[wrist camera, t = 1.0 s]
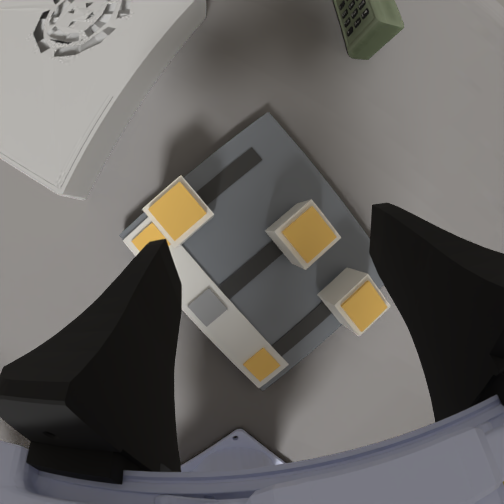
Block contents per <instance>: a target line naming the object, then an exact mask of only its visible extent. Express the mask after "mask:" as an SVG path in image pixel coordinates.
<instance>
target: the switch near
mask: <svg viewBox="0 0 504 504" xmlns="http://www.w3.org/2000/svg"><path fill="white" fill-rule="evenodd" d="M142 210H143V211H144V212H145V213H146V215H147V216H148V217H149V218H150V220H151V221H152V222H153V223H154V224H155V226H156V227H157V228H158V229H159V230H160V232H161V233H162V234H163V235H164V236H165V238H166V239H167V240H168V241H169V242H170V243H171V245H172V246H173V247H174V248H176V247H178V246H180V245H181V244H183V243H184V242H185V241H186V240H187V239H188V238H189V237H191V236H192V235H193V234H194V233H195V232H196V231H198V230H199V229H200V228H201V227H202V226H203V225H204V224H206V223H207V222H208V221H209V220H210V219H211V218H213V217H214V213H213V212H212V211H211V210H210V209H209V207H208V206H207V205H206V204H205V203H204V201H203V200H202V199H201V198H200V197H199V196H198V194H197V193H196V192H195V191H194V190H193V188H192V187H191V186H190V185H189V184H188V183H187V181H186V180H185V179H184V178H183V177H182V176H181V175H180V176H179V177H178V178H177V179H176V180H174V181H173V182H172V183H171V184H170V185H169V186H167V187H166V188H165V189H164V190H163V191H162V192H161V193H159V194H158V195H157V196H156V197H155V198H154V199H153V200H151V201H150V202H149V203H148V204H147V205H146V206H145V207H144V208H143V209H142Z"/></svg>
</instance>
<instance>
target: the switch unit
mask: <svg viewBox="0 0 504 504" xmlns="http://www.w3.org/2000/svg"><path fill="white" fill-rule="evenodd" d="M184 179H185V180H186V181H187V183H188V184H189V185H190V186H191V187H192V188H193V190H194V191H195V192H196V193H197V194H198V196H199V197H200V198H201V199H202V200H203V201H204V203H205V204H206V205H207V206H208V207H209V209H210V210H211V211H212V212H213V213H214V217H213V218H211V219H210V220H209V221H208V222H207V223H206V224H204V225H203V226H202V227H201V228H200V229H199V230H198V231H196V232H195V233H194V234H193V235H192V236H191V237H189V238H188V239H187V240H186V241H185V242H184V243H183V244H181V245H180V246H178V247H176V248H174V247H173V246H172V245H171V243H170V242H169V241H168V240H167V239H166V238H165V236H164V235H163V234H162V233H161V232H160V230H159V229H158V228H157V227H156V226H155V224H154V223H153V222H152V221H151V220H150V218H149V217H148V216H147V215H146V213H145V212H144V213H142V214H141V215H140V216H139V217H138V218H137V219H136V220H135V221H134V222H133V223H132V224H131V225H129V226H128V227H127V228H126V229H125V230H124V231H123V232H122V233H121V234H120V235H119V236H120V237H121V238H122V239H123V242H124V243H125V244H126V245H127V247H128V248H129V249H130V250H131V251H132V253H133V254H134V255H135V256H136V255H137V254H138V253H139V252H140V251H141V250H142V249H143V248H144V247H145V245H146V244H148V243H149V242H150V241H155V240H161V239H166V240H167V243H168V246H169V249H170V252H171V255H172V258H173V261H174V264H175V267H176V269H177V272H178V275H179V278H180V281H181V283H182V310H183V311H184V312H185V313H186V315H187V316H188V317H189V318H190V319H191V320H192V321H193V322H194V323H195V324H196V325H197V326H198V327H199V329H200V330H201V331H202V332H203V333H204V334H205V335H206V336H207V337H208V338H209V339H210V340H211V341H212V342H213V343H214V344H215V345H216V346H217V347H218V348H219V349H220V350H221V351H222V353H223V354H224V355H225V356H226V357H227V358H228V359H229V360H230V361H231V362H232V363H233V364H234V365H235V366H236V367H237V368H238V369H239V370H240V371H241V372H242V373H243V374H245V375H246V376H247V377H248V378H249V379H250V380H251V381H252V382H253V383H254V384H255V385H256V386H257V387H258V388H260V389H261V390H262V391H264V390H265V389H266V388H268V387H269V386H270V385H271V384H273V383H274V382H275V381H276V380H278V379H279V378H280V377H281V376H283V375H284V374H285V373H286V372H288V371H289V370H290V369H291V368H292V367H294V366H295V365H296V364H297V363H299V362H300V361H301V360H302V359H303V358H304V357H306V356H307V355H308V354H309V353H310V352H312V351H313V350H314V349H315V348H316V347H317V346H318V345H320V344H321V343H322V342H323V341H324V340H325V339H326V338H328V337H329V336H330V335H331V334H332V333H333V332H334V331H335V330H337V329H338V328H339V327H340V326H341V325H342V324H341V323H340V322H339V321H338V320H337V319H336V317H335V316H334V315H333V314H332V312H331V311H330V310H329V309H328V307H327V306H326V305H325V304H324V302H323V301H322V300H321V299H320V298H319V296H318V295H317V294H318V293H319V292H320V291H322V290H323V289H324V288H325V287H326V286H327V285H328V284H329V283H330V282H332V281H333V280H334V279H335V278H336V277H337V276H338V275H339V274H340V273H341V272H342V271H343V270H345V269H346V268H351V269H354V270H357V271H361V272H364V273H367V274H368V275H369V276H370V277H371V279H372V280H373V282H374V283H375V284H376V286H377V287H378V289H380V288H381V287H382V286H383V285H384V284H383V282H382V280H381V279H380V277H379V275H378V273H377V270H376V268H375V266H374V263H373V261H372V258H371V256H370V254H369V247H370V238H369V237H368V236H367V234H366V233H365V231H364V230H363V229H362V227H361V226H360V224H359V223H358V222H357V220H356V219H355V218H354V216H353V215H352V214H351V212H350V211H349V210H348V208H347V207H346V206H345V204H344V203H343V202H342V200H341V199H340V198H339V196H338V195H337V194H336V192H335V191H334V190H333V189H332V187H331V186H330V185H329V183H328V182H327V181H326V180H325V178H324V177H323V176H322V175H321V173H320V172H319V171H318V170H317V168H316V167H315V166H314V165H313V163H312V162H311V161H310V160H309V159H308V157H307V156H306V155H305V154H304V153H303V151H302V150H301V149H300V148H299V147H298V145H297V144H296V143H295V142H294V141H293V139H292V138H291V137H290V136H289V135H288V134H287V132H286V131H285V130H284V129H283V128H282V127H281V126H280V124H279V123H278V122H277V121H276V120H275V119H274V118H273V117H272V115H271V114H270V113H269V112H267V113H266V114H264V115H263V116H262V117H260V118H259V119H258V120H256V121H255V122H253V123H252V124H251V125H249V126H248V127H247V128H245V129H244V130H243V131H241V132H240V133H239V134H237V135H236V136H235V137H234V138H232V139H231V140H230V141H228V142H227V143H226V144H224V145H223V146H222V147H221V148H219V149H218V150H217V151H216V152H214V153H213V154H212V155H211V156H209V157H208V158H207V159H206V160H204V161H203V162H202V163H201V164H199V165H198V166H197V167H196V168H195V169H193V170H192V171H191V172H190V173H188V174H187V175H186V176H185V177H184ZM311 199H312V200H313V202H314V203H315V204H316V205H317V207H318V208H319V209H320V210H321V212H322V213H323V214H324V216H325V217H326V218H327V219H328V221H329V222H330V223H331V225H332V226H333V227H334V229H335V230H336V231H337V232H338V234H339V235H340V236H341V238H340V239H339V240H338V241H337V242H336V243H335V244H334V245H333V246H332V247H331V248H329V249H328V250H327V251H326V252H325V253H324V254H323V255H322V256H321V257H320V258H318V259H317V260H316V261H315V262H314V263H313V264H312V265H311V266H309V267H308V268H307V269H306V270H305V269H303V268H300V267H298V266H296V265H294V264H292V263H291V262H290V261H289V260H288V258H287V257H286V256H285V255H284V254H283V252H282V251H281V250H280V249H279V248H278V246H277V245H276V244H275V243H274V241H273V240H272V239H271V238H270V237H269V235H268V234H267V233H266V232H265V230H266V229H267V228H269V227H270V226H271V225H272V224H273V223H274V222H276V221H277V220H278V219H279V218H280V217H282V216H283V215H284V214H285V213H286V212H287V211H289V210H290V209H291V208H292V207H293V206H294V205H296V204H297V203H300V202H304V201H307V200H311Z"/></svg>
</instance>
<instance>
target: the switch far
mask: <svg viewBox="0 0 504 504" xmlns="http://www.w3.org/2000/svg"><path fill="white" fill-rule="evenodd" d="M317 295H318V296H319V298H320V299H321V300H322V301H323V302H324V304H325V305H326V306H327V307H328V309H329V310H330V311H331V312H332V314H333V315H334V316H335V317H336V319H337V320H338V321H339V322H340V323H341V324H342V325H343V326H345V327H346V328H348V329H349V330H350V331H352V332H353V333H354V334H356V335H357V336H358V337H359V336H361V335H362V334H363V333H364V332H365V331H366V330H367V329H368V328H369V327H370V326H371V325H372V324H373V323H374V322H375V321H376V320H377V319H378V318H379V317H380V316H381V315H382V314H383V313H384V312H385V311H386V310H387V309H388V308H389V307H390V305H389V303H388V302H387V300H386V299H385V297H384V296H383V294H382V293H381V292H380V290H379V289H378V287H377V286H376V284H375V283H374V282H373V280H372V279H371V277H370V276H369V275H368V274H367V273H364V272H361V271H357V270H354V269H351V268H346V269H345V270H343V271H342V272H341V273H340V274H339V275H338V276H337V277H336V278H335V279H334V280H333V281H332V282H330V283H329V284H328V285H327V286H326V287H325V288H324V289H323V290H322V291H320V292H319V293H318V294H317Z"/></svg>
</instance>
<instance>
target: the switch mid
mask: <svg viewBox="0 0 504 504" xmlns="http://www.w3.org/2000/svg"><path fill="white" fill-rule="evenodd" d="M265 232H266V233H267V234H268V235H269V237H270V238H271V239H272V240H273V241H274V243H275V244H276V245H277V246H278V248H279V249H280V250H281V251H282V252H283V254H284V255H285V256H286V257H287V258H288V260H289V261H290V262H291V263H292V264H294V265H296V266H298V267H300V268H303V269H305V270H306V269H307V268H308V267H309V266H311V265H312V264H313V263H314V262H315V261H316V260H317V259H318V258H320V257H321V256H322V255H323V254H324V253H325V252H326V251H327V250H328V249H329V248H331V247H332V246H333V245H334V244H335V243H336V242H337V241H338V240H339V239H340V238H341V236H340V235H339V234H338V232H337V231H336V230H335V229H334V227H333V226H332V225H331V223H330V222H329V221H328V219H327V218H326V217H325V216H324V214H323V213H322V212H321V210H320V209H319V208H318V207H317V205H316V204H315V203H314V202H313V200H312V199H311V200H307V201H304V202H300V203H297V204H296V205H294V206H293V207H292V208H291V209H290V210H289V211H287V212H286V213H285V214H284V215H283V216H282V217H280V218H279V219H278V220H277V221H276V222H274V223H273V224H272V225H271V226H270V227H269V228H267V229H266V230H265Z"/></svg>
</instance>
